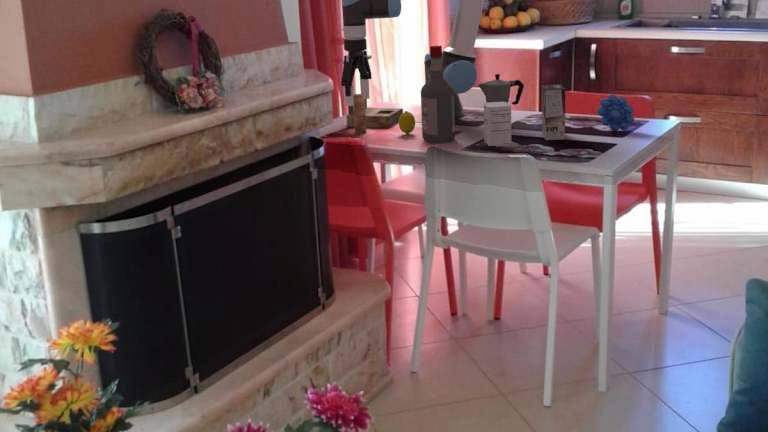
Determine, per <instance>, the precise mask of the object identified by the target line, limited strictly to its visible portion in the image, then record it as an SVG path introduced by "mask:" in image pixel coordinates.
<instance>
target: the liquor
mask: <svg viewBox="0 0 768 432" xmlns="http://www.w3.org/2000/svg"><path fill="white" fill-rule="evenodd" d="M442 46H443V45H430V46H429V50H430V51H429V53H430V56H431V75H430V78H429V80H428V81H427V82H426V83H425V82H424V85H423V86H422V87H421V89H420V107H421V112H420V113H421V131H422V132H421V133H422V134H421V136H422V139H423V141H424V142H427V143H429V144H442V143H443V144H445V143H450V142H449V141H451V142H453V141H454V140H455V138H456V123H455V122H456V121H455V113H454V89H453V87H452V86H451V85H450V84H449V83H448V81H447V80H446V79H445V78H444V77H443V73H442V57H441V56H442V52H443V49H442V48H443V47H442ZM452 140H453V141H452Z"/></svg>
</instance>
